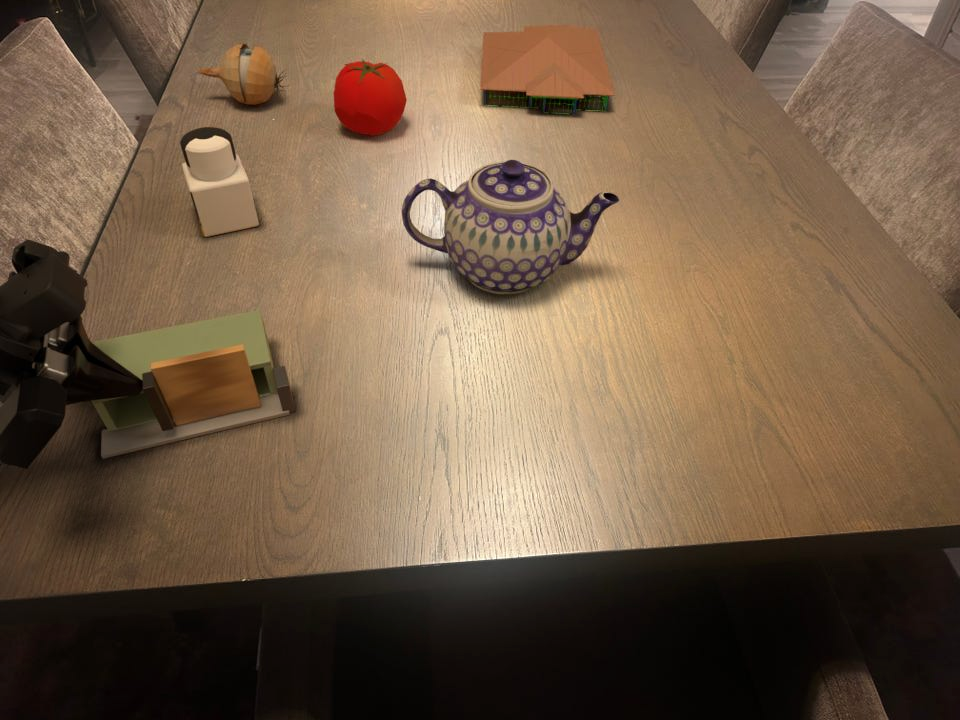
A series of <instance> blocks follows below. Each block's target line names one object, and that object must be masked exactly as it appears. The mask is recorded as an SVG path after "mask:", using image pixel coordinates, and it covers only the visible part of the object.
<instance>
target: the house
mask: <svg viewBox="0 0 960 720" xmlns="http://www.w3.org/2000/svg"><path fill="white" fill-rule="evenodd" d="M482 34H483V35H482V52H481V70H480V71H481V72H480V90H482V91H483V90H484V105H483V106H487V107H497V105H496V103H494V104H493V105H492V104H486V102H487V97H489V98H492V97H494V98H496V95H491V94H492V91H494V92H496V91H500V92H501V91H502V92H503V91H504V95H498V97H499V98H498V100H499V101H498V103H499V104H500V103H501V102H500V101H501V98H503V99H505V98H510V95H507V96H506V92H508V94H511V92H522V93H523V94H522V97H521V96H520V94H518V96H517V98H518V99H517V100H520V99H527V97H528V104H527V103H525V105H524V102H521V103H522V105H521V108H528V109H538V106H537V104H535V106H534V107H533V106H532V105H533V98H535V100H542V99H543V101H540V104H539V106H541V105H542V113H543V114H548V112H547V111H546V103H547V102H546V101H547V99H549V101H551V100H552V99H559V102H549V108H548V110H550V109H551V107H550V106H551V105H553V107H555V105H561V100H562V101H563V103H565V102H566V101H568V102H570V101H571V103H568V104H567V109H569V107H570V106H572V107H570V108H571V109H570V112H572V110H573V115H576V111H579V109H580V108H581V105H579V106H578V107H579V108H578V109H577V103H578V100H579V102H584V105H583V107H585V104H586V102H588V105H590V103H591V97H594V98H599V99H598V104H597V107H599V106H600V103H602V105H603V107H602V109H601V111H604V112H607V109H608V103H609V98H610V97H615V96H616V95H615V91H614V87H613V84H612V80H611V75H610V72H609V69H608V65H607V60H606V57H605V54H604V50H603V46H602V43H601V39H600V35H599V31H598V29H594V28H588V27H581V26H574V25H569V24H549V25H524V26H523V31H493V32H492V31H491V32H487V31H486V32H482ZM487 91H490V92H489V94H490V95H487ZM524 95H525V96H524ZM587 96H589V100H588V99H587ZM600 99H602V100H600ZM514 101H515V98H513V99H512V104H514V103H515V102H514ZM595 102H596V99H594V100H593V103H595ZM509 104H510V102H508V104H507V105H503V107H505V108H507V107H508V108H517V105H516V106H514V105H509ZM523 105H524V106H523ZM526 105H528V106H526ZM564 107H565V106H563V107H562V111H564V109H565V108H564ZM594 107H595V105H593V107H592V109H590V107H588V109H586V111H589V112H600V110H599V109H597V110H596V109H594ZM557 110H558V111H557V112H555V111H553V112H552V114H556V115H557V114H559V115H569V111H567V113H564V112H560V108H558V109H557ZM545 111H546V112H545Z"/></svg>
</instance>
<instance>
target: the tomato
mask: <svg viewBox="0 0 960 720" xmlns="http://www.w3.org/2000/svg"><path fill="white" fill-rule="evenodd" d="M361 59H362V60H361V61H359V60H358V61H354V62H349V63H344V66H343V68H342V69H340V70H339V72H338V73H337V76H336V78H335V82H334V90H333V104H334V105H333V106H334V107H333V108H334V113H335V115H336V117H337V119H338V120H339V122H340V123H341V124H342V126H344V127H345V128H346V129H347V130H350V131H352V132H354V133H356V134H360V135H366V136H372V137H374V136H378V135H382V134H385V133H387V132H389V131H391V130H392V129H393V128H394V127H396V126H397V124H398V123H399V122H400V121H401V119H402V117H403V115H404V113H405V110H406V104H407V102H408V101H407V95H406V91H405V88H404V84H403V81H402V79H401V78H400V76H399V75H398V73H397V72H396V70H395V69H394V68H393V67H391V66H390V65H389V64H388V62H385V63H383V62H377V63H374V64H373V63H372V62H369V61H365V60H364V59H363V58H361Z"/></svg>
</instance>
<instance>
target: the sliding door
mask: <svg viewBox="0 0 960 720" xmlns="http://www.w3.org/2000/svg"><path fill="white" fill-rule="evenodd" d="M142 389H143V391H144V393H145V395H146V398H147V400H148V402H149V404H150V406H151V408H152V410H153V412H154V414H155V416H156V418H157V420H158V423H159V425H160V427H161V429H162V431H166V430H170V429H173V428H174V426H173V419H174V422H175V424H176V426H178V425H182V424H187V423H191V422H195V421H200V420H204V419H208V418H213V417H217V416H221V415H226V414H230V413H234V412H239V411H243V410H248V409H252V408H256V407H260V406H261V403H260V399H259V395H258V392H257V388H256V385H255V382H254V378H253V375H252V372H251V368H250V365H249V362H248V358H247V355H246V351H245V348H244V345H243V344H242V345H237V346H232V347H227V348H223V349H218V350H213V351H208V352H203V353H198V354H193V355H188V356H183V357H179V358H174V359H169V360H164V361H159V362H154V363H151V372H146V373H142Z"/></svg>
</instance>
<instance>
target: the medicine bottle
mask: <svg viewBox="0 0 960 720" xmlns="http://www.w3.org/2000/svg"><path fill="white" fill-rule="evenodd" d="M179 144H180V148H181V151H182V155H183V158H184V161H185V162H182V164H181V168H182V171H183V175H184V177H185V181H186V184H187V187H188V191H189V194H190V198H191V200H192V203H193V207H194V210H195V213H196V217H197V220H198V223H199V227H200V230H201V233H202V236H203V237H205V238H208V237H212V236H217V235H222V234H227V233H231V232H236V231H241V230H242V231H243V230H246V229H250V228H255V227H258V226H259V225H260V224H259V218H258V213H257V210H256V209H257V208H256V205H255V202H254V196H253V193H252V188H251V184H250V180H249V177H248V174H247V173H246V170H245V168H244V165H243V162H242V161H241V159H240V156H239V154H237V153H236V149H235V145H234V141H233V137H232V135H231V133H229V132H228V131H227V130H225V129H223V128H220V127H216V126H204V127H198V128H195V129H192V130H190V131H188V132H186V133H185V134H184V135H182V138H181V139H180V141H179Z"/></svg>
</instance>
